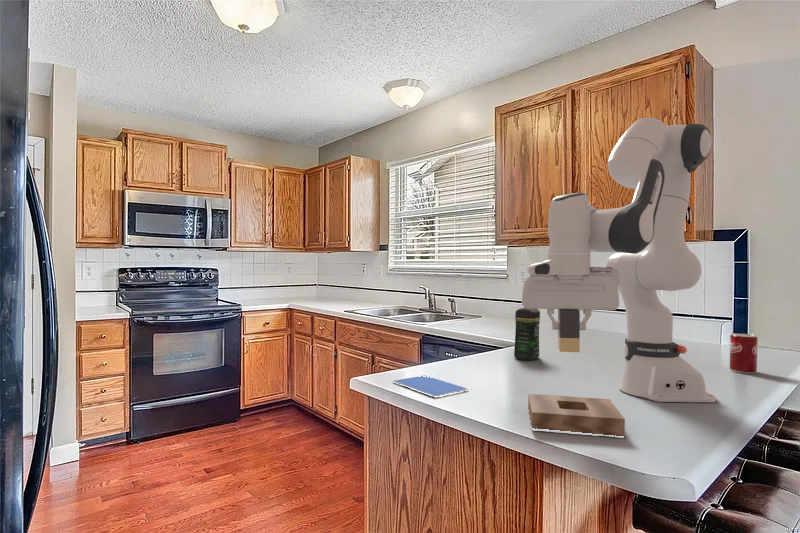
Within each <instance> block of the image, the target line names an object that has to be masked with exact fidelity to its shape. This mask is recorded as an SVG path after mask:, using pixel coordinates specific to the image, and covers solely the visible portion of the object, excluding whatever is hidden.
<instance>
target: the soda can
mask: <svg viewBox="0 0 800 533" xmlns="http://www.w3.org/2000/svg"><path fill="white" fill-rule="evenodd" d="M758 342H759V340H758V336H757V335H755V334H749V333H734V332H733V333H731V334H730V336H729V370H730V371H732V372H734V373H739V374H745V375H753V374H756V373H757V372H758Z"/></svg>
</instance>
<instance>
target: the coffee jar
mask: <svg viewBox="0 0 800 533" xmlns="http://www.w3.org/2000/svg"><path fill="white" fill-rule="evenodd" d="M514 320H515V321H514V322H515V333H514V334H515V336H514V349H513V350H514V354H513V356H514V358H516V359H518V360H521V361H525V360H527V361H533V360H537V359H538V358H539V357H540V321H541V312H540V309H527V308H524V307H521V308H518V309H516V311H515V316H514Z"/></svg>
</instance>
